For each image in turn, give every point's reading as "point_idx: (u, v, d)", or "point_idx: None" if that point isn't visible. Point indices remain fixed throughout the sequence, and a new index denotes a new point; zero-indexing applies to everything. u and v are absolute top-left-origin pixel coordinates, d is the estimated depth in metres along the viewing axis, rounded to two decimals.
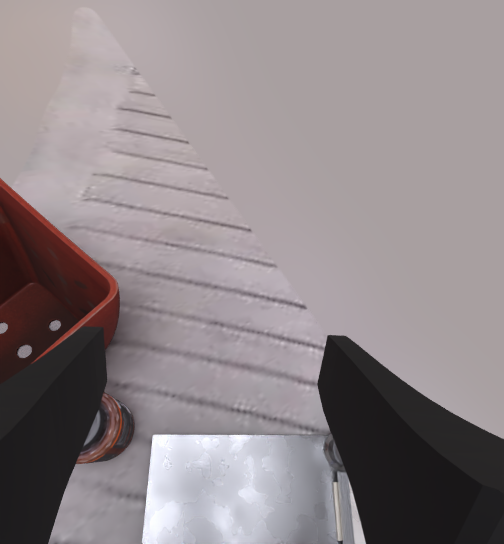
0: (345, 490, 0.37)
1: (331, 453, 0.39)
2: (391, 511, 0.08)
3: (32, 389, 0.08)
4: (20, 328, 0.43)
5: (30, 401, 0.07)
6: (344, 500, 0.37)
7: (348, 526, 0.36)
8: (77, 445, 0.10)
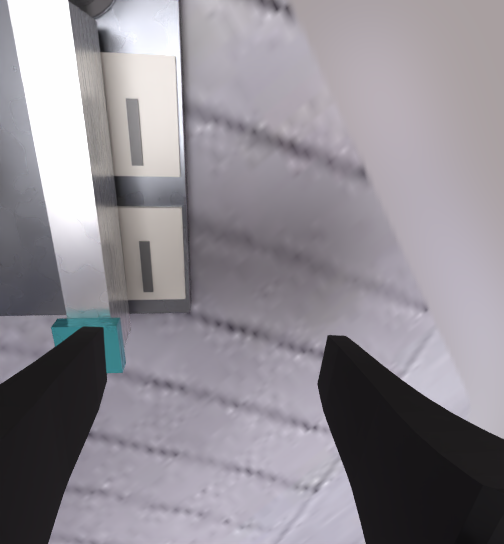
0: None
1: None
2: (391, 510, 0.08)
3: (32, 389, 0.08)
4: None
5: (30, 401, 0.07)
6: None
7: None
8: (77, 445, 0.10)
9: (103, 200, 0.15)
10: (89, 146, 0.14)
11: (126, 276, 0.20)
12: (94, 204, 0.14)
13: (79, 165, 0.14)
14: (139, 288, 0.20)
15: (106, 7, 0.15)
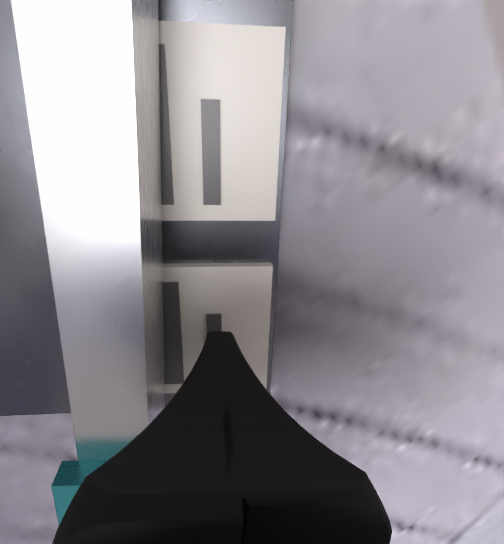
0: None
1: None
2: None
3: (215, 392, 0.08)
4: None
5: (223, 403, 0.08)
6: None
7: None
8: None
9: (151, 274, 0.09)
10: (141, 191, 0.07)
11: (184, 362, 0.13)
12: (140, 291, 0.08)
13: (120, 225, 0.07)
14: None
15: None
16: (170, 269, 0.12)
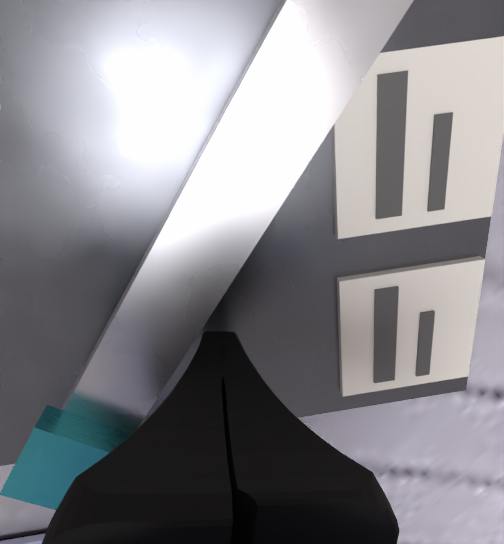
0: (279, 9, 0.07)
1: None
2: None
3: (209, 392, 0.08)
4: None
5: (216, 403, 0.08)
6: (252, 56, 0.08)
7: (204, 147, 0.08)
8: None
9: None
10: (284, 196, 0.08)
11: (396, 360, 0.14)
12: (230, 280, 0.08)
13: (252, 216, 0.08)
14: (410, 372, 0.14)
15: None
16: (391, 275, 0.13)
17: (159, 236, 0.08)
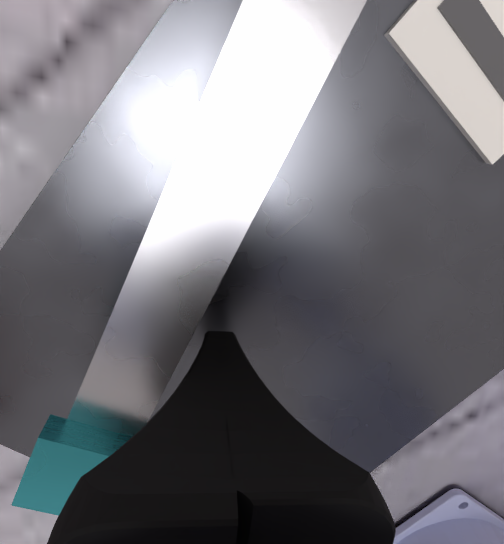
0: None
1: None
2: None
3: (212, 392, 0.08)
4: None
5: (220, 403, 0.08)
6: None
7: None
8: None
9: None
10: None
11: None
12: (219, 278, 0.08)
13: (236, 211, 0.07)
14: None
15: None
16: None
17: (144, 238, 0.08)
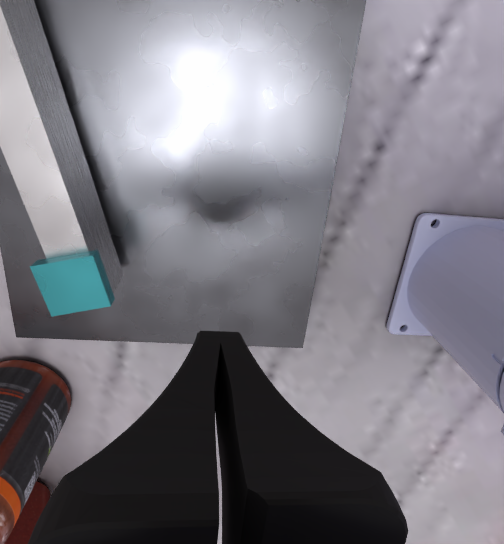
0: None
1: None
2: (228, 514, 0.08)
3: (201, 391, 0.08)
4: None
5: (208, 403, 0.08)
6: None
7: None
8: None
9: (56, 129, 0.15)
10: (24, 65, 0.13)
11: None
12: (43, 128, 0.14)
13: (18, 87, 0.13)
14: None
15: None
16: None
17: None
